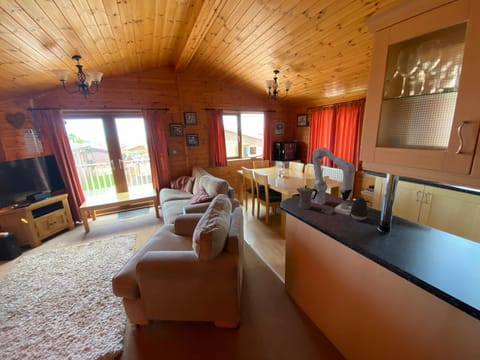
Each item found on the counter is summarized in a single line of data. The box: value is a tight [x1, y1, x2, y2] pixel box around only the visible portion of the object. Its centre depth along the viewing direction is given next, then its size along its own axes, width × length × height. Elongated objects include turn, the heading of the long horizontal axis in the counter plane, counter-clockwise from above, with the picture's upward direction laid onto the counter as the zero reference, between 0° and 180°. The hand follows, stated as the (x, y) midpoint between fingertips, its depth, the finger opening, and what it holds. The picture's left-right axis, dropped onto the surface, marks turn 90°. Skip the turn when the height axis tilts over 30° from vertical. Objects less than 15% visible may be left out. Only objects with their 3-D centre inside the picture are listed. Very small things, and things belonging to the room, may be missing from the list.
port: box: [334, 203, 352, 216], centre depth 146 cm, size 10×10×3 cm
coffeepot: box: [295, 185, 318, 210], centre depth 154 cm, size 15×9×18 cm, turn 70°
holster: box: [320, 206, 336, 216], centre depth 146 cm, size 8×6×2 cm
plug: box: [341, 200, 350, 210], centre depth 145 cm, size 4×4×8 cm
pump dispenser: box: [350, 196, 371, 221], centre depth 133 cm, size 10×10×15 cm
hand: (345, 199), depth 144 cm, fingers open, 3 cm apart
